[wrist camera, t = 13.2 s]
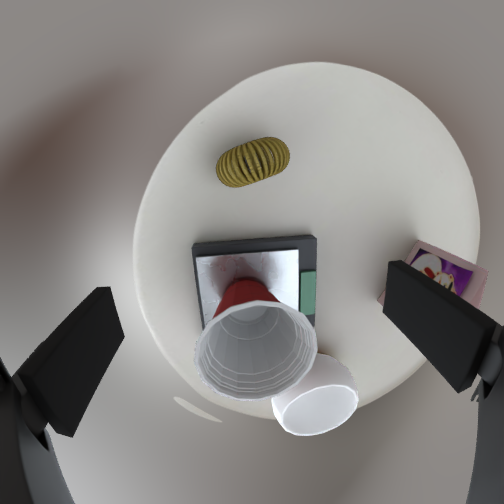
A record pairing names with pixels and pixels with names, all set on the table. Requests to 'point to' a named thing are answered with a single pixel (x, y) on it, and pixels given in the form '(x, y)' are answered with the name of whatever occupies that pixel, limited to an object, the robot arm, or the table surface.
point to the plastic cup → (254, 345)
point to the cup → (318, 399)
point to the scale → (257, 271)
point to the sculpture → (252, 162)
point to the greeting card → (448, 272)
